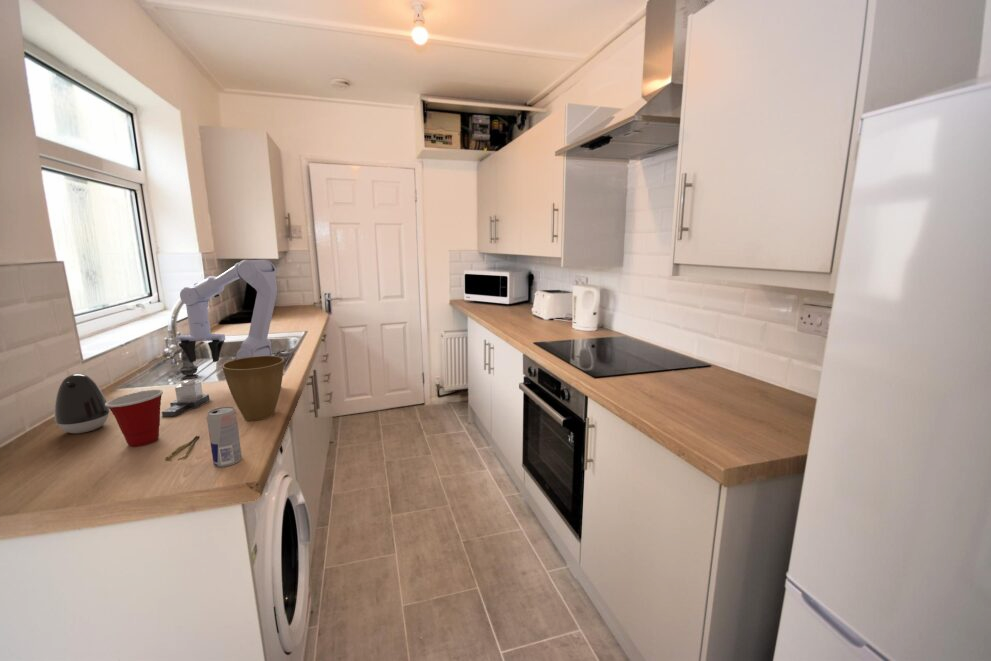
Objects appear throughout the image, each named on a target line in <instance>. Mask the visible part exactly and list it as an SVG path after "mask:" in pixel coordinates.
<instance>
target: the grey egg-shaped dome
mask: <svg viewBox="0 0 991 661" xmlns="http://www.w3.org/2000/svg"><path fill="white" fill-rule="evenodd" d="M106 402H108V401H107V399H106V397H105V395H104V394H103V392H102V390H101V388H100V387H99V386H98V385H97V383H96V382H95V381H94V380H93V379H92V378H91V377H89V376H88V375H86V374H81V373H74V374H71V375H68V376H66V377H65V378H64V379H63V380H62V381H61V383H60V385H59V387H58V389H57V393H56V398H55V404H54V421H55V423H56V424H57V425H58V426H59V428H60V429H61V430H62V431H64V432H66V433H69V434H84V433H88V432H91V431H92V432H93V431H95V430H97V429H98V428H101V427H102V426H103V425H104V424H105V423H106V422H107V420H108V418H109V413H110V412H111V410H110V409H109V408H108V407H106V406H105V403H106Z"/></svg>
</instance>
